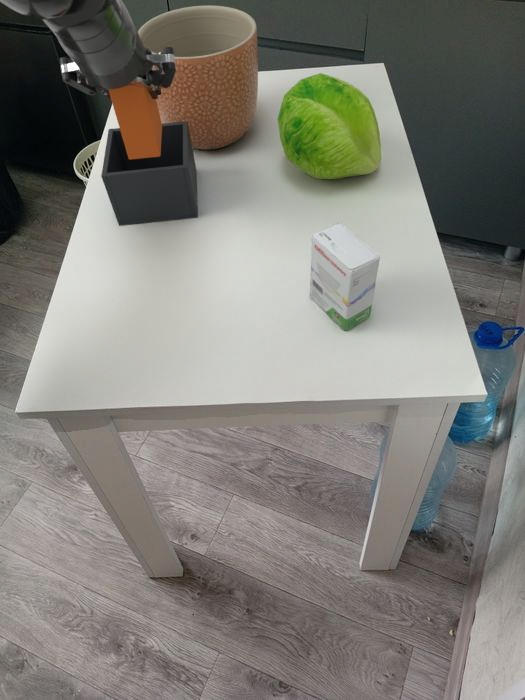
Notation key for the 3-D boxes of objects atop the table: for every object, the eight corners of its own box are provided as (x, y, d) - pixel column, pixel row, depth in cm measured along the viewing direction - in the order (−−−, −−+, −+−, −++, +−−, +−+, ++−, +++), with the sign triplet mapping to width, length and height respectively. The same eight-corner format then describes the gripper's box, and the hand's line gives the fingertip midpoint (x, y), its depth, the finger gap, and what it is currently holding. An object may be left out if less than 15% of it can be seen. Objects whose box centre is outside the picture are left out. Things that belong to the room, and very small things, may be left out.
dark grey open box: (118, 225, 87) (101, 176, 80) (124, 178, 96) (108, 128, 88) (197, 217, 88) (188, 167, 80) (196, 170, 96) (187, 120, 88)
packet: (128, 159, 71) (107, 87, 63) (132, 128, 76) (113, 57, 68) (160, 156, 71) (143, 83, 63) (162, 125, 76) (146, 54, 68)
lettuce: (350, 219, 87) (413, 138, 79) (251, 150, 83) (306, 57, 74) (349, 188, 101) (402, 116, 93) (264, 128, 97) (311, 47, 88)
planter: (138, 139, 103) (110, 37, 88) (210, 96, 112) (196, -4, 96) (212, 176, 94) (196, 70, 79) (283, 126, 103) (281, 21, 88)
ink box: (371, 316, 73) (383, 255, 63) (344, 332, 71) (351, 272, 62) (334, 281, 77) (339, 219, 68) (308, 295, 76) (309, 234, 66)
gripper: (163, -11, 52) (184, 59, 69) (24, 3, 52) (79, 69, 69) (172, 67, 53) (191, 117, 70) (36, 81, 53) (88, 127, 70)
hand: (136, 93), depth 70 cm, fingers closed on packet, 4 cm apart
